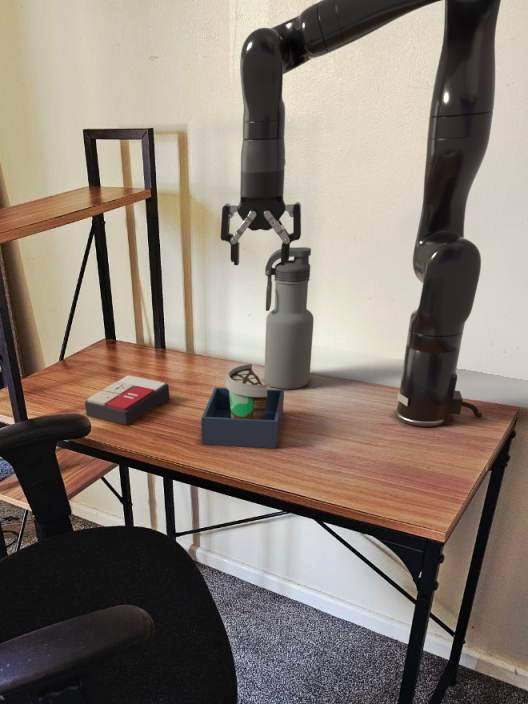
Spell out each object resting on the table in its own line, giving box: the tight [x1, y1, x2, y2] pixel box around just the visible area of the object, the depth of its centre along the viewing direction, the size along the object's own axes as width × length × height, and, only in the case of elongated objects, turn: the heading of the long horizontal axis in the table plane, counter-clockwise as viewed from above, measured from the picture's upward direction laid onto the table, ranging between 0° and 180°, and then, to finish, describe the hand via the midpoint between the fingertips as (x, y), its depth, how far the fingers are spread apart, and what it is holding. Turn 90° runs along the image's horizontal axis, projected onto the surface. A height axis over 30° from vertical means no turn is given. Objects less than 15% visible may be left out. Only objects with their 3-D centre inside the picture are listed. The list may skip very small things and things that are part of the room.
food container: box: [225, 363, 268, 420], centre depth 133 cm, size 12×6×10 cm, turn 6°
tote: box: [200, 386, 285, 449], centre depth 135 cm, size 14×15×5 cm
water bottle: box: [263, 246, 315, 390], centre depth 148 cm, size 10×10×28 cm
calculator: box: [84, 374, 170, 426], centre depth 147 cm, size 11×4×15 cm
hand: (259, 264), depth 131 cm, fingers open, 8 cm apart
